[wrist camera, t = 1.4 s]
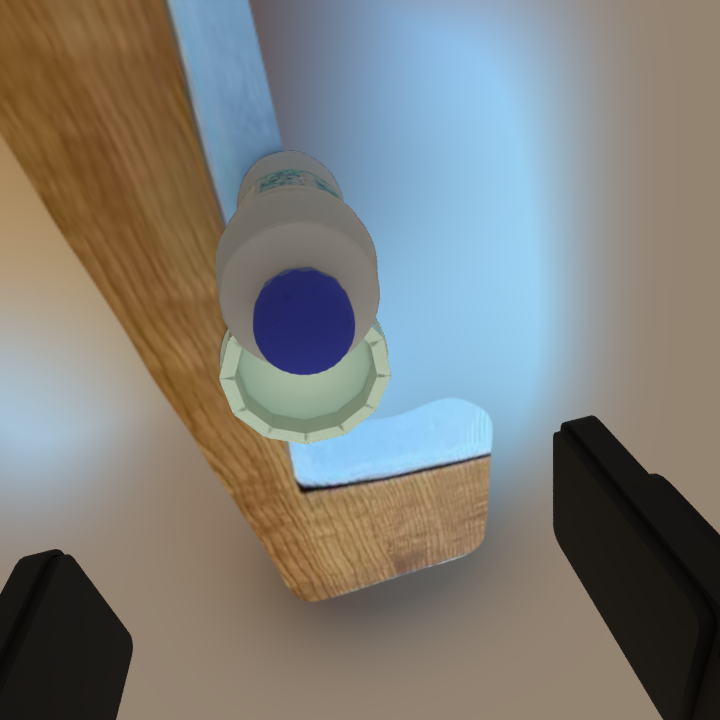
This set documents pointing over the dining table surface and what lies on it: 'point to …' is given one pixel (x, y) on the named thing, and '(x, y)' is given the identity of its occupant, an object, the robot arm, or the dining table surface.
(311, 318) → the bottle
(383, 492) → the dining table surface
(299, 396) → the dish
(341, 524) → the dining table surface
